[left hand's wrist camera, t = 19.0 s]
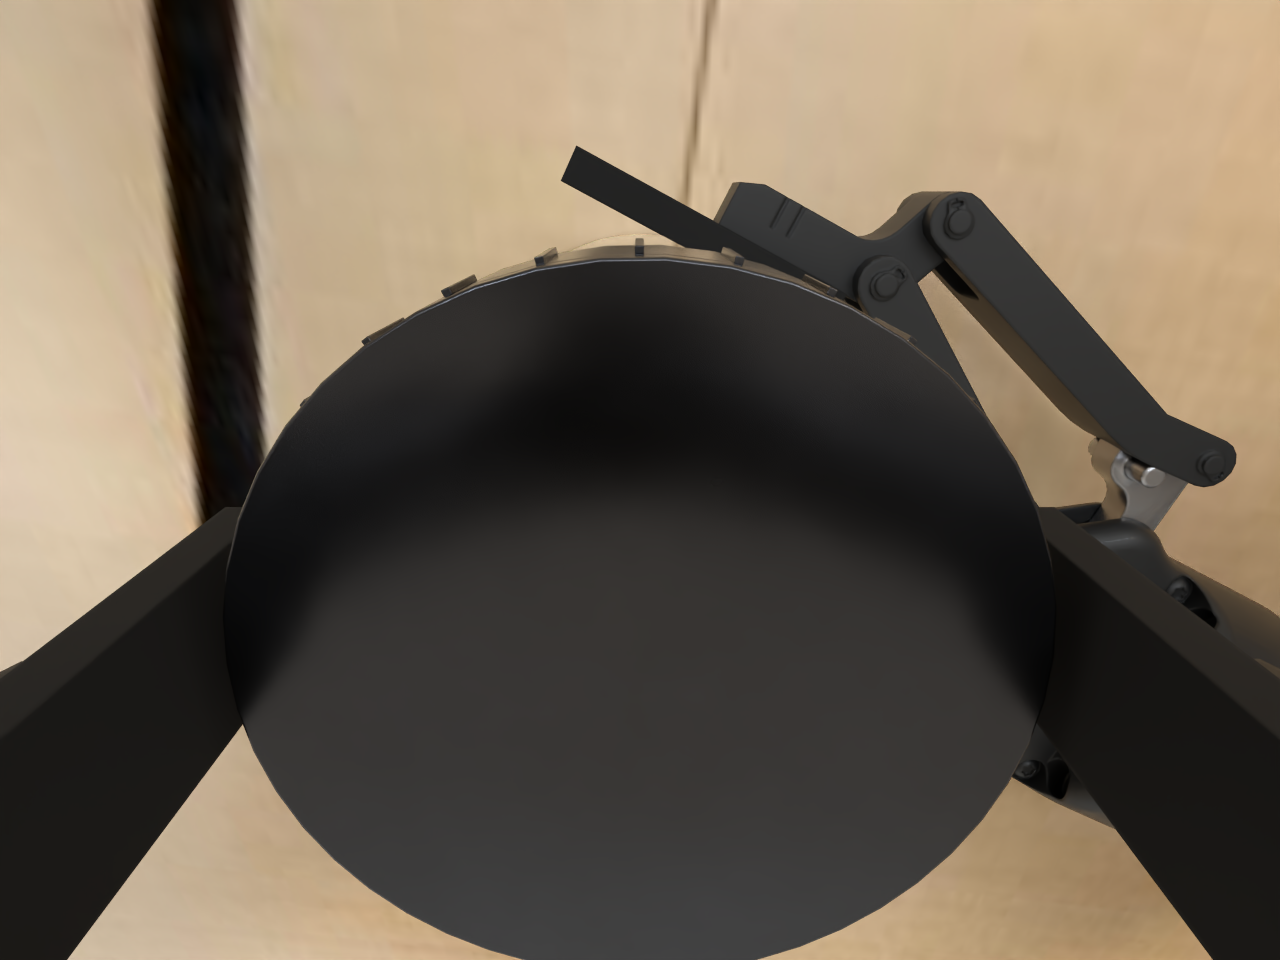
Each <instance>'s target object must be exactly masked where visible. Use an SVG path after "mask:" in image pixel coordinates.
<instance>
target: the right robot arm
mask: <svg viewBox="0 0 1280 960" xmlns="http://www.w3.org/2000/svg"><path fill="white" fill-rule="evenodd" d="M561 181H562V182H564V183H566V184H568V185H569V186H571V187H573V188H575V189H577V190H579V191H581V192H582V193H584V194H586V195H588V196H590V197H592V198H594V199H595V200H597V201H599V202H601V203H603V204H605V205H607V206H608V207H610V208H612V209H614V210H616V211H618V212H620V213H621V214H623V215H625V216H627V217H629V218H631V219H633V220H634V221H636V222H638V223H640V224H642V225H644V226H646V227H647V228H649V229H651V230H653V231H655V232H657V233H659V234H660V235H662V236H664V237H666V238H668V239H670V240H672V241H673V242H675V243H677V244H679V245H681V246H683V247H685V248H691V249H699V250H707V251H715V252H718V253H722V248H723V247H726V248H730V249H732V250H733V251H735V252H736V253H738V254H739V255H741V256H743V257H744V258H745V260H749V261H752V262H756V263H760V264H764V265H767V266H769V267H772V268H774V269H776V270H779V271H781V272H783V273H786V274H788V275H791V276H793V277H795V278H798V279H800V280H802V278H803V276H804V275H805V274H806V275H808V276H810V277H812V278H814V279H816V280H818V281H820V282H822V283H824V284H826V285H828V286H830V287H832V288H834V289H836V290H838V291H837V293H836V295H835V297H836V298H838V299H840V300H842V301H844V302H846V303H848V304H849V305H851V306H853V307H855V308H856V309H858V310H860V311H861V312H863V313H865V314H866V315H868V316H870V317H871V318H873V319H875V318H878V319H880V320H882V321H884V322H886V323H888V324H890V325H891V326H893V327H895V328H897V329H899V330H901V331H903V332H905V333H906V334H908V335H910V336H912V337H913V338H914V339H916V340H917V343H916V344H915V345H914V346H915V347H916V348H918V349H919V350H920V351H921V352H923V353H924V354H925V355H926V356H927V357H929V358H930V359H931V360H932V361H934V362H935V363H936V364H937V365H938V366H940V367H941V368H942V369H943V370H945V371H946V372H947V373H948V374H949V375H950V376H951V377H952V378H953V379H954V380H955V381H956V382H957V384H958V385H959V386H960V387H961V388H962V389H963V390H964V391H965V392H966V394H967V395H969V396H970V397H972V398H973V399H975V400H976V401H977V403H978V404H979V406H978V407H979V408H980V409H981V410H982V411H983V412H984V410H983V408H982V406H981V404H980V402H979V400H978V398H977V396H976V395H975V393H974V391H973V389H972V387H971V385H970V383H969V381H968V379H967V377H966V375H965V373H964V372H963V370H962V368H961V366H960V364H959V362H958V360H957V358H956V356H955V354H954V352H953V350H952V348H951V347H950V345H949V343H948V341H947V339H946V337H945V335H944V333H943V331H942V329H941V327H940V325H939V324H938V322H937V320H936V318H935V316H934V314H933V312H932V310H931V308H930V306H929V304H928V302H927V301H926V299H925V297H924V295H923V293H922V291H921V289H920V287H919V285H918V282H919V281H920V280H921V279H923V278H924V277H925V276H926V275H927V274H928V273H930V272H931V271H932V272H933V273H934V274H935V275H936V276H937V277H938V278H939V280H940V281H941V282H942V283H943V284H944V285H945V286H946V287H947V288H948V289H949V290H950V291H951V293H952V294H953V295H954V296H955V297H956V298H957V299H958V300H959V301H960V302H961V303H962V305H963V306H964V307H965V308H966V309H967V310H968V311H969V312H970V313H971V314H972V315H973V317H974V318H975V319H976V320H977V321H978V322H979V323H980V324H981V325H982V326H983V327H984V329H985V330H986V331H987V332H988V333H989V334H990V335H991V336H992V337H993V338H994V339H995V341H996V342H997V343H998V344H999V345H1000V346H1001V347H1002V348H1003V349H1004V350H1005V351H1006V353H1007V354H1008V355H1009V356H1010V357H1011V358H1012V359H1013V360H1014V361H1015V362H1016V363H1017V365H1018V366H1019V367H1020V368H1021V369H1022V370H1023V371H1024V372H1025V373H1026V374H1027V375H1028V377H1029V378H1030V379H1031V380H1032V381H1033V382H1034V383H1035V384H1036V385H1037V386H1038V387H1039V389H1040V390H1041V391H1042V392H1043V393H1044V394H1045V395H1046V396H1047V397H1048V398H1049V399H1050V401H1051V402H1052V403H1053V404H1054V405H1055V406H1056V407H1057V408H1058V409H1059V410H1060V411H1061V412H1062V413H1063V414H1064V415H1065V416H1066V417H1067V418H1068V419H1069V420H1070V421H1072V422H1073V423H1075V424H1076V425H1077V426H1079V427H1080V428H1082V429H1083V430H1085V431H1086V432H1088V433H1090V434H1092V435H1094V436H1096V438H1094V439H1093V440H1092V441H1091V442H1090V444H1089V447H1088V449H1089V453H1090V454H1091V456H1092V457H1091V462H1092V466H1093V468H1094V470H1095V471H1096V472H1097V473H1098V474H1099V475H1101V476H1102V477H1103V478H1104V480H1105V482H1106V485H1107V493H1106V497H1105V499H1104V501H1103V503H1097V502H1095V503H1085V504H1078V505H1071V506H1064V507H1057V508H1056V509H1058V510H1059V511H1060V512H1061V513H1063V514H1064V515H1065V516H1067V517H1068V518H1069V519H1071V520H1072V521H1073V522H1075V523H1076V524H1077V525H1079V526H1080V527H1081V528H1082V529H1084V530H1085V531H1086V532H1088V533H1089V534H1090V535H1092V536H1093V537H1094V538H1096V539H1097V540H1098V541H1100V542H1101V543H1102V544H1103V545H1105V546H1106V547H1107V548H1109V549H1110V550H1111V551H1113V552H1114V553H1115V554H1117V555H1118V556H1119V557H1121V558H1122V559H1123V560H1124V561H1126V562H1127V563H1128V564H1130V565H1131V566H1132V567H1134V568H1135V569H1136V570H1138V571H1139V572H1140V573H1142V574H1143V575H1144V576H1145V577H1147V578H1148V579H1149V580H1151V581H1152V582H1153V583H1155V584H1156V585H1157V586H1159V587H1160V588H1161V589H1163V590H1164V591H1165V592H1167V593H1168V594H1169V595H1170V596H1172V597H1173V598H1174V599H1176V600H1177V601H1178V602H1180V603H1181V604H1182V605H1184V606H1185V607H1186V608H1188V609H1189V610H1190V611H1191V612H1193V613H1194V614H1195V615H1197V616H1198V617H1199V618H1201V619H1202V620H1203V621H1205V622H1206V623H1207V624H1209V625H1210V626H1211V627H1212V628H1214V629H1215V630H1216V631H1218V632H1219V633H1220V634H1222V635H1223V636H1224V637H1226V638H1227V639H1228V640H1230V641H1231V642H1232V643H1233V644H1235V645H1236V646H1237V647H1239V648H1240V649H1241V650H1243V651H1244V652H1245V653H1247V654H1248V655H1249V656H1251V657H1252V658H1253V659H1261V660H1263V661H1265V662H1267V663H1269V664H1271V665H1273V666H1275V667H1277V668H1279V669H1280V616H1277V615H1276V614H1274V613H1273V612H1272V611H1271V610H1269V609H1267V608H1265V607H1264V606H1262V605H1260V604H1258V603H1256V602H1255V601H1253V600H1251V599H1249V598H1247V597H1245V596H1243V595H1241V594H1239V593H1237V592H1236V591H1234V590H1232V589H1230V588H1228V587H1226V586H1224V585H1222V584H1220V583H1218V582H1216V581H1215V580H1213V579H1211V578H1209V577H1207V576H1205V575H1203V574H1201V573H1199V572H1197V571H1195V570H1194V569H1192V568H1190V567H1188V566H1186V565H1184V564H1182V563H1180V562H1178V561H1176V560H1175V559H1173V558H1171V557H1169V556H1168V555H1167V554H1166V552H1165V550H1164V548H1163V546H1162V544H1161V542H1160V539H1159V538H1158V536H1157V535H1156V534H1155V532H1154V530H1155V528H1156V527H1157V525H1158V524H1159V523H1160V521H1161V520H1162V518H1163V517H1164V516H1165V514H1166V513H1167V512H1168V510H1169V509H1170V507H1171V506H1172V505H1173V503H1174V502H1175V500H1176V499H1177V498H1178V496H1179V495H1180V493H1181V492H1182V491H1183V489H1184V488H1185V486H1186V485H1187V484H1188V483H1190V484H1193V485H1195V486H1200V487H1208V486H1214V485H1216V484H1218V483H1219V482H1221V481H1223V480H1224V479H1225V478H1226V477H1227V476H1228V475H1229V474H1230V473H1231V472H1232V470H1233V468H1234V466H1235V464H1236V452H1235V450H1234V447H1233V446H1232V445H1231V444H1229V443H1228V442H1227V441H1225V440H1223V439H1220V438H1218V437H1216V436H1214V435H1212V434H1209V433H1207V432H1205V431H1203V430H1201V429H1198V428H1196V427H1194V426H1192V425H1190V424H1187V423H1185V422H1183V421H1181V420H1178V419H1176V418H1174V417H1172V416H1170V415H1167V414H1166V412H1165V411H1164V410H1163V409H1162V408H1161V407H1160V405H1159V404H1158V403H1157V402H1156V401H1155V400H1154V399H1153V397H1152V396H1151V395H1150V394H1149V393H1148V392H1147V391H1146V389H1145V388H1144V387H1143V386H1142V385H1141V384H1140V382H1139V381H1138V380H1137V379H1136V378H1135V377H1134V376H1133V374H1132V373H1131V372H1130V371H1129V370H1128V369H1127V367H1126V366H1125V365H1124V364H1123V363H1122V362H1121V361H1120V359H1119V358H1118V357H1117V356H1116V355H1115V354H1114V352H1113V351H1112V350H1111V349H1110V348H1109V347H1108V346H1107V344H1106V343H1105V342H1104V341H1103V340H1102V339H1101V338H1100V336H1099V335H1098V334H1097V333H1096V332H1095V331H1094V329H1093V328H1092V327H1091V326H1090V325H1089V324H1088V323H1087V321H1086V320H1085V319H1084V318H1083V317H1082V316H1081V314H1080V313H1079V312H1078V311H1077V310H1076V309H1075V308H1074V306H1073V305H1072V304H1071V303H1070V302H1069V301H1068V300H1067V298H1066V297H1065V296H1064V295H1063V294H1062V293H1061V291H1060V290H1059V289H1058V288H1057V287H1056V286H1055V285H1054V283H1053V282H1052V281H1051V280H1050V279H1049V278H1048V276H1047V275H1046V274H1045V273H1044V272H1043V271H1042V270H1041V268H1040V267H1039V266H1038V265H1037V264H1036V263H1035V262H1034V260H1033V259H1032V258H1031V257H1030V256H1029V255H1028V253H1027V252H1026V251H1025V250H1024V249H1023V248H1022V247H1021V245H1020V244H1019V243H1018V242H1017V241H1016V240H1015V238H1014V237H1013V236H1012V235H1011V234H1010V233H1009V232H1008V230H1007V229H1006V228H1005V227H1004V226H1003V225H1002V224H1001V222H1000V221H999V220H998V219H997V218H996V217H995V215H994V214H993V213H992V212H991V211H990V210H989V209H988V207H987V206H986V205H985V204H984V203H983V202H982V200H981V199H979V198H978V197H976V196H975V195H974V194H972V193H967V192H918V193H914V194H912V195H910V196H909V197H907V198H906V199H905V200H903V202H902V203H901V205H900V206H899V208H898V209H897V213H896V214H894V215H893V216H892V217H891V218H890V219H889V220H888V221H887V222H885V223H884V224H883V225H882V226H881V227H880V228H878V229H877V230H876V231H874V232H873V233H870V234H868V235H865V236H859V237H857V236H855V235H854V234H852V233H850V232H848V231H846V230H845V229H843V228H841V227H839V226H838V225H836V224H834V223H832V222H830V221H829V220H827V219H825V218H823V217H822V216H820V215H818V214H816V213H815V212H813V211H811V210H809V209H807V208H805V207H804V206H802V205H800V204H799V203H797V202H795V201H793V200H792V199H789V198H788V197H786V196H784V195H783V194H781V193H779V192H777V191H776V190H774V189H772V188H770V187H768V186H767V185H764V184H754V183H744V182H736V183H732V185H731V187H730V189H729V191H728V193H727V195H726V197H725V199H724V201H723V203H722V205H721V207H720V209H719V210H718V212H717V214H716V216H715V218H714V220H711V219H709V218H707V217H706V216H704V215H702V214H700V213H698V212H696V211H695V210H693V209H691V208H689V207H687V206H685V205H684V204H682V203H680V202H678V201H676V200H675V199H673V198H671V197H669V196H667V195H665V194H664V193H662V192H660V191H658V190H656V189H655V188H653V187H651V186H649V185H647V184H645V183H644V182H642V181H640V180H638V179H636V178H634V177H633V176H631V175H629V174H627V173H625V172H624V171H622V170H620V169H618V168H616V167H614V166H613V165H611V164H609V163H607V162H605V161H603V160H602V159H600V158H598V157H596V156H594V155H593V154H591V153H589V152H587V151H585V150H583V149H582V148H580V147H578V146H576V148H575V150H574V152H573V155H572V157H571V159H570V161H569V164H568V166H567V168H566V170H565V173H564V175H563V177H562V179H561ZM984 414H985V412H984ZM985 415H986V414H985ZM1035 504H1036V506H1037V507H1039V506H1038V505H1037V503H1036V502H1035ZM1012 777H1013V778H1015V779H1016V780H1018V781H1020V782H1021V783H1023V784H1025V785H1026V786H1028V787H1029V788H1031V789H1033V790H1034V791H1036V792H1038V793H1039V794H1041V795H1043V796H1045V797H1046V798H1048V799H1050V800H1052V801H1054V802H1056V803H1058V804H1060V805H1062V806H1065V807H1067V808H1069V809H1071V810H1074V811H1076V812H1078V813H1080V814H1083V815H1085V816H1087V817H1089V818H1092V819H1094V820H1096V821H1098V822H1100V823H1103V824H1105V825H1107V826H1109V827H1112V828H1114V826H1113V825H1112V824H1111V822H1110V821H1109V820H1108V818H1107V817H1106V816H1105V814H1104V813H1103V812H1102V810H1101V809H1100V808H1099V806H1098V805H1097V804H1096V802H1095V801H1094V799H1093V798H1092V797H1091V795H1090V794H1089V793H1088V791H1087V790H1086V789H1085V787H1084V786H1083V785H1082V783H1081V782H1080V781H1079V779H1078V778H1077V777H1076V775H1075V774H1074V773H1073V771H1072V770H1071V769H1070V767H1069V766H1068V765H1067V763H1066V762H1065V761H1064V759H1063V758H1062V757H1061V755H1060V754H1059V753H1058V751H1057V750H1056V749H1055V747H1054V746H1053V745H1052V743H1051V742H1050V741H1049V739H1048V738H1047V736H1046V735H1045V734H1044V732H1043V731H1042V730H1041V728H1040V727H1039V726H1038V724H1037V723H1036V726H1035V729H1034V732H1033V734H1032V737H1031V740H1030V743H1029V745H1028V747H1027V749H1026V750H1025V752H1024V754H1023V756H1022V758H1021V760H1020V762H1019V764H1018V766H1017V768H1016V769H1015V771H1014V773H1013V775H1012ZM1114 829H1115V828H1114Z"/></svg>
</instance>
